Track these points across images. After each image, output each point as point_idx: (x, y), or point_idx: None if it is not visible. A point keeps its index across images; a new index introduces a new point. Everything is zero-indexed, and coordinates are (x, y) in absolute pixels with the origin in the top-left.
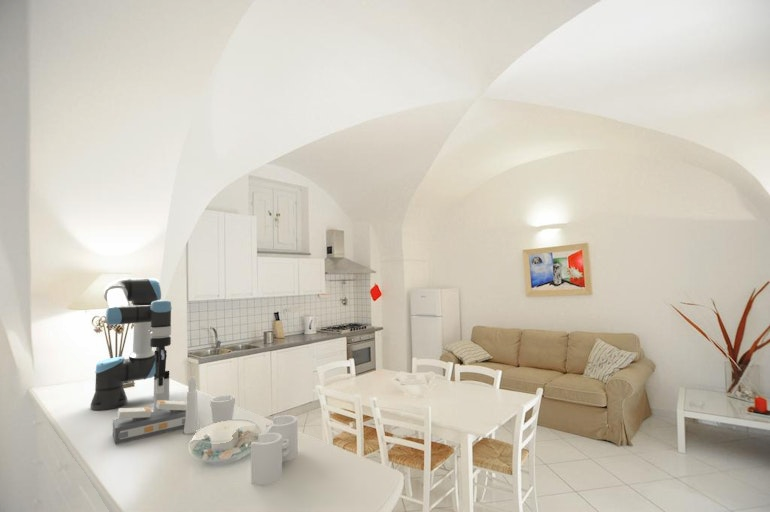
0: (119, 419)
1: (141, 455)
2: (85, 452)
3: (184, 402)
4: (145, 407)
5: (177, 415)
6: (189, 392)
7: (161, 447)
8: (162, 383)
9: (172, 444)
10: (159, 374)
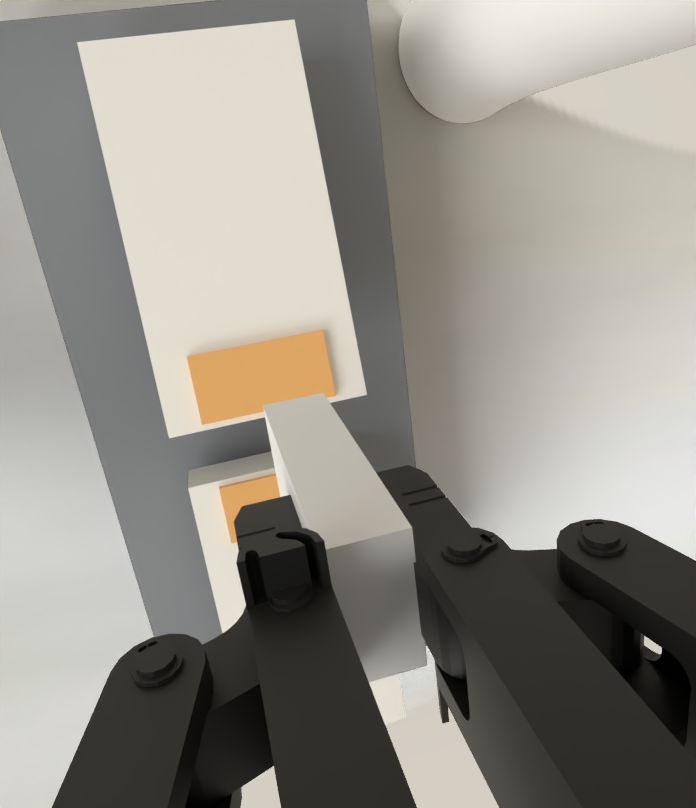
0: None
1: (679, 395)
2: (424, 688)
3: (162, 56)
4: (230, 529)
5: (382, 171)
6: None
7: (642, 289)
8: (433, 486)
9: (641, 218)
10: (673, 674)
